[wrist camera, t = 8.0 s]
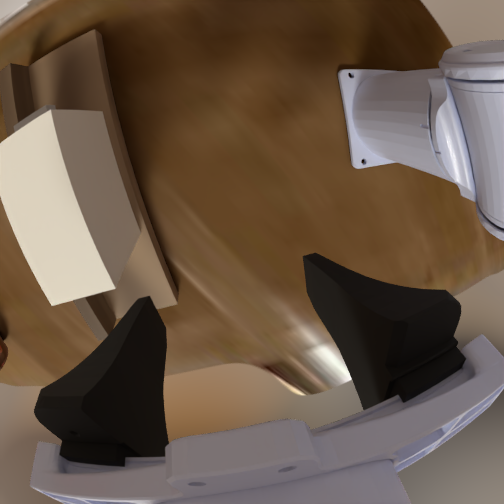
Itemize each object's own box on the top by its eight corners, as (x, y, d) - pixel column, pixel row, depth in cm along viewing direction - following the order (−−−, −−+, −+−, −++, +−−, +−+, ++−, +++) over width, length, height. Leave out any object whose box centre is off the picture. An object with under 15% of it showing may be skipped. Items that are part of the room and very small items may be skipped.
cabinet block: (100, 100, 14) (47, 93, 8) (141, 233, 18) (115, 288, 12) (47, 127, 14) (-15, 138, 7) (89, 250, 18) (52, 305, 12)
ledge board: (101, 34, 13) (81, 18, 9) (178, 293, 23) (176, 324, 19) (26, 76, 12) (-2, 72, 9) (109, 310, 22) (98, 340, 19)
